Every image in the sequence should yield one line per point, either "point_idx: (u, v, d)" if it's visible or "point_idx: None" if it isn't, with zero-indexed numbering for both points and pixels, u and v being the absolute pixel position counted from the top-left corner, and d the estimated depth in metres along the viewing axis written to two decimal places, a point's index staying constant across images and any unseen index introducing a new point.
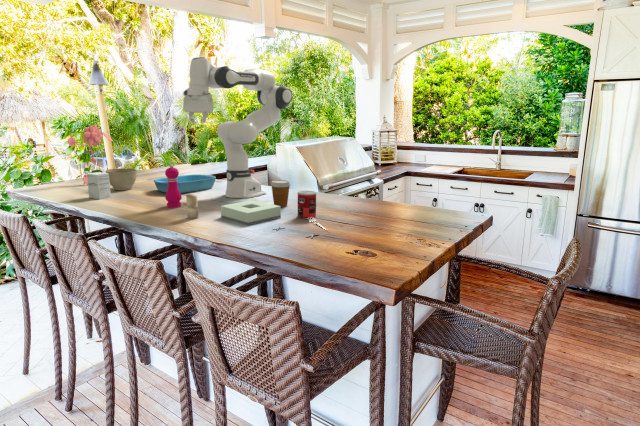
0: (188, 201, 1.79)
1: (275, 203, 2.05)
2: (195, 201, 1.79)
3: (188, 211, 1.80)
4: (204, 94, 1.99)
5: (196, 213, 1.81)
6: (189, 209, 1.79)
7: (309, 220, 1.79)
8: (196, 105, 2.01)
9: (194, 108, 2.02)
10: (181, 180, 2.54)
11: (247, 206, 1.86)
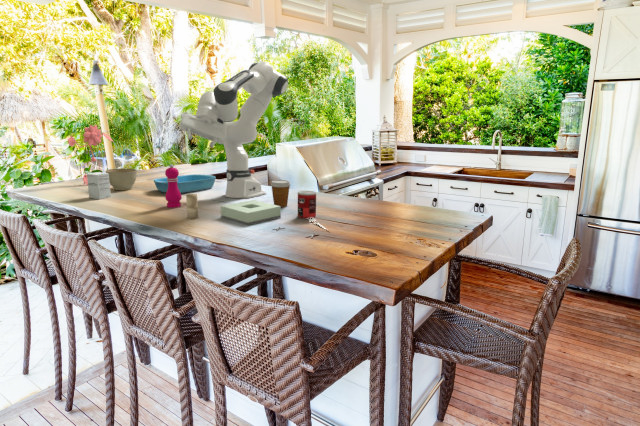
0: (188, 201, 1.79)
1: (275, 203, 2.05)
2: (195, 201, 1.79)
3: (188, 211, 1.80)
4: None
5: (196, 213, 1.81)
6: (189, 209, 1.79)
7: (309, 220, 1.79)
8: None
9: None
10: (181, 180, 2.54)
11: (247, 206, 1.86)
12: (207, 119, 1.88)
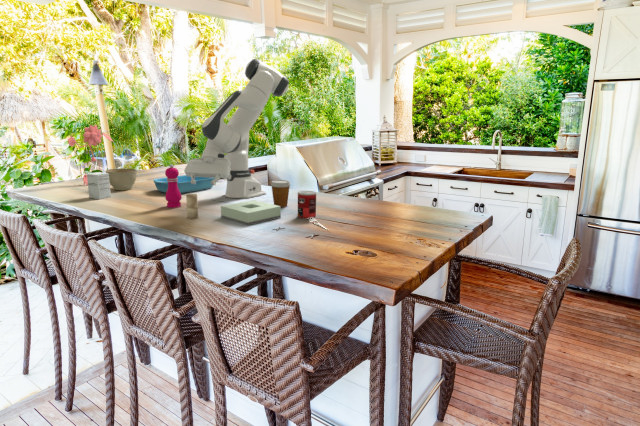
0: (188, 201, 1.79)
1: (275, 203, 2.05)
2: (195, 201, 1.79)
3: (188, 211, 1.80)
4: None
5: (196, 213, 1.81)
6: (189, 209, 1.79)
7: (309, 220, 1.79)
8: None
9: None
10: (181, 180, 2.54)
11: (247, 206, 1.86)
12: (208, 159, 1.91)
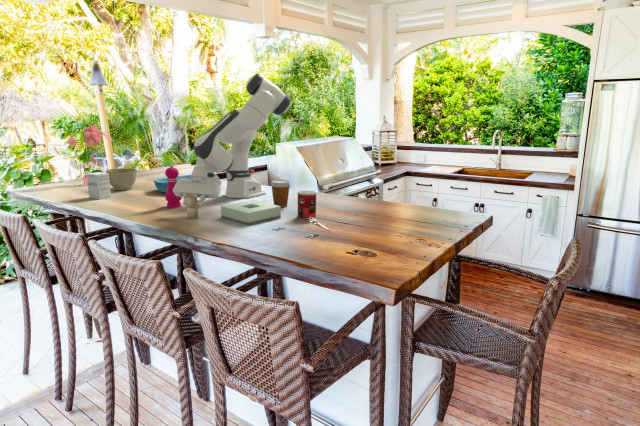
0: (188, 201, 1.79)
1: (275, 203, 2.05)
2: (195, 201, 1.79)
3: (188, 211, 1.80)
4: None
5: (196, 213, 1.81)
6: (189, 209, 1.79)
7: (309, 220, 1.79)
8: None
9: None
10: None
11: (247, 206, 1.86)
12: (197, 178, 1.83)
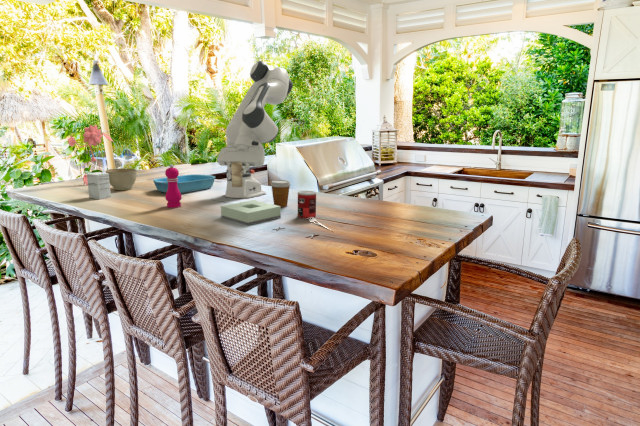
0: (233, 169, 1.77)
1: (275, 203, 2.05)
2: (240, 169, 1.78)
3: (233, 179, 1.78)
4: None
5: (241, 181, 1.79)
6: (234, 177, 1.78)
7: (309, 220, 1.79)
8: None
9: None
10: (180, 180, 2.54)
11: (247, 206, 1.86)
12: (241, 146, 1.82)
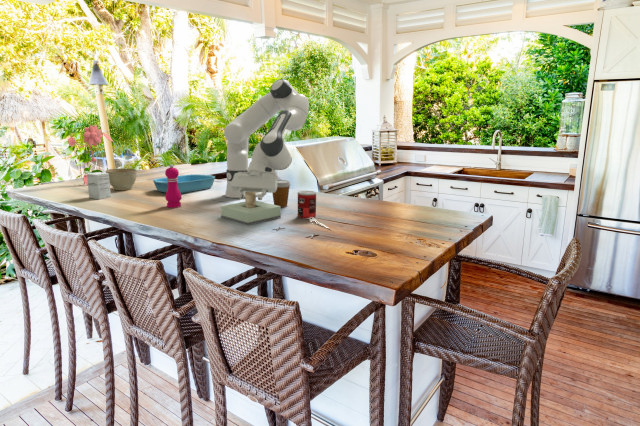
0: (247, 198, 1.81)
1: (275, 203, 2.05)
2: (254, 198, 1.82)
3: None
4: None
5: None
6: (248, 207, 1.81)
7: (310, 220, 1.79)
8: None
9: None
10: (180, 180, 2.54)
11: None
12: (255, 172, 1.85)
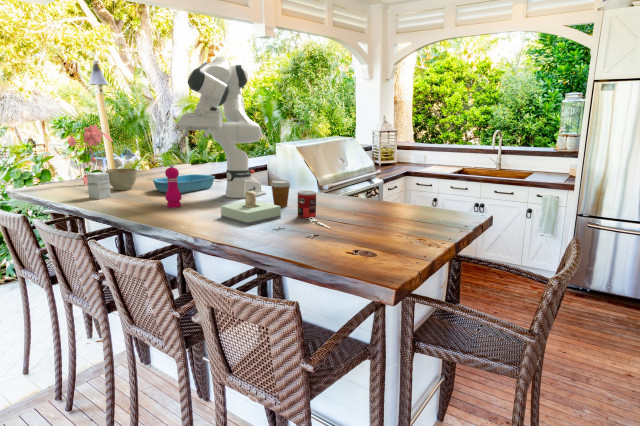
0: (247, 198, 1.81)
1: (275, 203, 2.05)
2: (254, 198, 1.82)
3: None
4: None
5: None
6: (248, 207, 1.81)
7: (310, 220, 1.79)
8: None
9: None
10: (179, 180, 2.54)
11: None
12: (200, 112, 1.94)
